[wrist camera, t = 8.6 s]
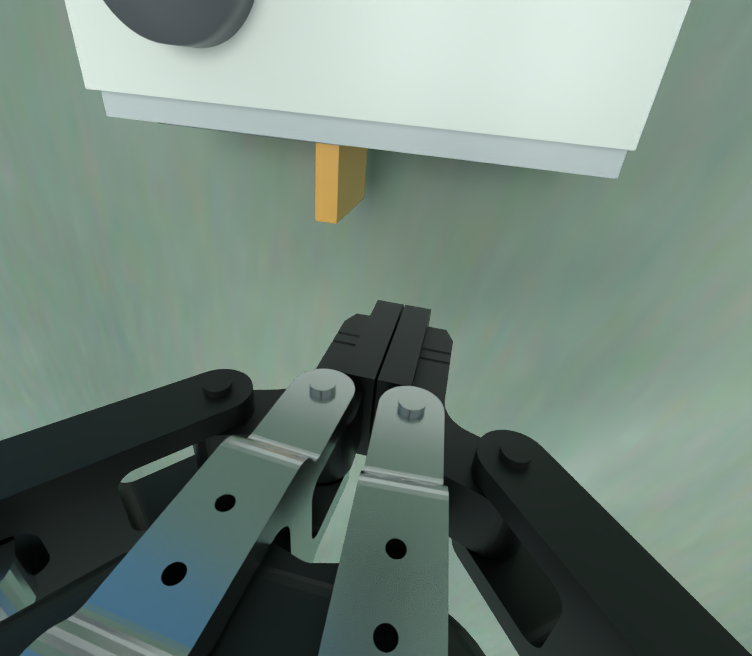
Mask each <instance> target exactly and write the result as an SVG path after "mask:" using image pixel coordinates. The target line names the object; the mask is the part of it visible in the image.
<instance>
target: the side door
mask: <svg viewBox="0 0 752 656" xmlns="http://www.w3.org/2000/svg"><path fill="white" fill-rule="evenodd" d="M157 123H159V122H157ZM161 124H167V123H161ZM169 125H176V124H169ZM177 126H184V125H177ZM185 127H192V126H185ZM193 128H200V127H193ZM202 129H208V128H202ZM210 130H216V129H210ZM218 131H224V130H218ZM226 132H232V131H226ZM234 133H241V132H234ZM242 134H249V133H242ZM250 135H257V134H250ZM258 136H265V135H258ZM266 137H273V136H266ZM274 138H281V137H274ZM283 139H289V138H283ZM291 140H297V139H291ZM299 141H306V140H299ZM307 142H314V141H307ZM315 143H316V195H315V221H322V222H328V223H335V224H337V223H338V222H339V221H340V220H341V219H342V218H343V217H344V216H345V215H346V214H347V213H349V212H350V211H351V210H352V209H353V208H354V207H355V206H356V205H357V204H358V203H359V202H360V201H361V200H363V199H364V190H365V175H366V160H367V148H362V147H354V146H346V145H338V144H330V143H322V142H315Z"/></svg>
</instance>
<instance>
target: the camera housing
mask: <svg viewBox="0 0 752 656" xmlns="http://www.w3.org/2000/svg"><path fill="white" fill-rule="evenodd" d="M690 2H691V0H65V4H66V8H67V12H68V16H69V20H70V25H71V29H72V33H73V37H74V41H75V45H76V50H77V54H78V58H79V62H80V66H81V71H82V75H83V79H84V83H85V87H86V89H93V90H101V92H102V96H103V101H104V105H105V110H106V114H107V116H111V117H119V118H127V119H135V120H143V121H151V122H159V123H167V124H176V125H184V126H192V127H200V128H208V129H216V130H224V131H232V132H241V133H249V134H257V135H265V136H273V137H281V138H289V139H297V140H306V141H314V142H322V143H330V144H338V145H346V146H354V147H362V148H370V149H379V150H387V151H395V152H403V153H411V154H419V155H427V156H435V157H444V158H452V159H460V160H468V161H476V162H484V163H492V164H500V165H509V166H517V167H525V168H533V169H541V170H549V171H557V172H565V173H574V174H582V175H590V176H598V177H606V178H614V179H617V178H618V175H619V172H620V170H621V167H622V164H623V161H624V158H625V156H626V153H627V150H634V151H635V150H636V147H637V144H638V142H639V139H640V136H641V133H642V131H643V128H644V125H645V123H646V120H647V117H648V115H649V112H650V109H651V107H652V104H653V101H654V98H655V96H656V93H657V90H658V88H659V85H660V82H661V80H662V77H663V74H664V72H665V69H666V66H667V63H668V61H669V58H670V55H671V53H672V50H673V47H674V45H675V42H676V39H677V37H678V34H679V31H680V28H681V26H682V23H683V20H684V18H685V15H686V12H687V10H688V7H689V4H690Z"/></svg>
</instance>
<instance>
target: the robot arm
mask: <svg viewBox="0 0 752 656" xmlns="http://www.w3.org/2000/svg"><path fill="white" fill-rule="evenodd" d="M430 314H431V309H426V308H420V307H415V306H409V305H405V307H404V305H403V304H397V303H392V302H386V301H380V300H378V301H377V303H376V305H375V307H374V309H373V311H372V313H371V315H370V316H367V315H362V314H355V315H354V316H352V317H351V318H349V319H347V320H346V321H344V323H343V325H342V326H341V328H340V330H339V331H338V333H337V335H336V336H335V338H334V340H333V342H332V343H331V345H330V346H329V348H328V350H327V351H326V353H325V355H324V356H323V358H322V360H321V361H320V363H319V365H318V366H317V368H316V369H314V370H309V371H307V372H304V373H302V374H300V375H299V376H297V377H296V378H295V379H294V380H293V382H292V383H291V384H290V385H289V387H288V388H287V389H279V390H253V384H252V381H251V379H250V378H249V377H248V376H247V375H246V374H244V373H242V372H240V371H236V370H231V369H218V370H212V371H208V372H205V373H202V374H199V375H196V376H193V377H190V378H187V379H184V380H181V381H178V382H175V383H172V384H169V385H166V386H163V387H160V388H157V389H154V390H151V391H148V392H145V393H142V394H139V395H136V396H133V397H130V398H127V399H124V400H121V401H118V402H115V403H112V404H109V405H106V406H103V407H100V408H97V409H94V410H91V411H88V412H85V413H82V414H79V415H76V416H73V417H70V418H67V419H64V420H61V421H58V422H55V423H52V424H49V425H46V426H43V427H40V428H37V429H34V430H31V431H28V432H25V433H22V434H19V435H16V436H13V437H10V438H7V439H4V440H1V441H0V656H486V655H485V654H484V653H483V651H482V650H481V648H480V647H479V645H478V644H477V643H476V641H475V640H474V639H473V638H472V637H471V635H470V634H469V633H468V632H467V631H466V629H464V628H463V627H462V626H461V625H460V624H459V623H458V622H457V621H456V620H455V619H454V618H453V617H452V616H451V615H449V614H448V559H449V537H450V538H452V545H453V548H454V551H455V553H456V555H457V556H458V558H459V559H460V561H461V563H462V564H463V566H464V568H465V569H466V571H467V572H468V574H469V576H470V577H471V579H472V580H473V582H474V584H475V585H476V587H477V588H478V590H479V592H480V593H481V595H482V596H483V598H484V600H485V601H486V603H487V604H488V606H489V608H490V609H491V611H492V612H493V614H494V616H495V617H496V619H497V620H498V622H499V624H500V625H501V627H502V628H503V630H504V632H505V633H506V635H507V636H508V638H509V640H510V641H511V643H512V644H513V646H514V648H515V649H516V651H517V652H518V654H519V656H752V655H751V654H750V653H749V652H748V651H747V650H746V649H745V648H744V647H743V646H742V645H741V644H740V643H739V642H738V641H737V640H736V639H735V638H734V637H733V636H732V635H731V634H730V633H729V632H728V631H727V630H726V629H725V628H724V627H723V626H722V625H721V624H720V623H719V622H718V621H717V620H716V619H715V618H714V617H713V616H712V615H711V614H710V613H709V612H708V611H707V610H706V609H705V608H704V607H703V606H702V605H701V604H700V603H699V602H698V601H697V600H696V599H695V598H694V597H693V596H692V595H691V594H690V593H689V592H688V591H687V590H686V589H685V588H684V587H683V586H682V585H681V584H680V583H679V582H678V581H677V580H676V579H675V578H673V577H672V576H671V575H670V574H669V573H668V572H667V571H666V570H665V569H664V568H663V567H662V566H661V565H660V564H659V563H658V562H657V561H656V560H655V559H654V558H653V557H652V556H651V555H650V554H649V553H648V552H647V551H646V550H645V549H644V548H643V547H642V546H641V545H640V544H639V543H638V542H637V541H636V540H635V539H634V538H633V537H632V536H631V535H630V534H629V533H628V532H627V531H626V530H625V529H624V528H623V527H622V526H621V525H620V524H619V523H618V522H617V521H616V520H615V519H614V518H613V517H612V516H611V515H610V514H609V513H608V512H607V511H606V510H605V509H604V508H603V507H602V506H601V505H600V504H599V503H598V502H597V501H596V500H595V499H594V498H593V497H592V496H591V495H590V494H589V493H588V492H587V491H586V490H585V489H584V488H583V487H582V486H581V485H580V484H579V483H578V482H577V481H576V480H575V479H574V478H573V477H572V476H571V475H570V474H569V473H568V472H567V471H566V470H565V469H564V468H563V467H562V466H561V465H560V464H559V463H558V462H557V461H556V460H555V459H554V458H553V457H552V456H551V455H550V454H549V453H548V452H547V451H546V450H545V449H544V448H543V447H542V446H541V445H539V444H538V443H537V442H536V441H534V440H533V439H531V438H529V437H528V436H526V435H523V434H521V433H518V432H515V431H510V430H495V431H491V432H488V433H486V434H485V435H483V436H482V437H478V436H476V435H474V434H472V433H470V432H468V431H466V430H465V429H463V428H461V427H460V426H458V425H457V424H456V423H455V422H454V421H453V420H452V419H451V418H450V416H449V415H448V413H447V411H446V409H445V394H446V387H447V380H448V373H449V364H450V358H451V351H452V343H453V341H452V339H451V337H450V336H449V334H448V332H447V330H443V329H438V328H433V327H428V326H429V320H430ZM191 445H193V448H194V453H195V455H193V456H191V457H189V458H186V459H184V460H182V461H179V462H177V463H175V464H173V465H170V466H168V467H166V468H163V469H161V470H159V471H157V472H154V473H152V474H150V475H147V476H145V477H143V478H141V479H138V480H136V481H133V482H129V483H121V482H120V481H121V480H122V479H123V478H124V477H125V476H126V475H127V474H128V473H130V472H131V471H133V470H135V469H137V468H139V467H142V466H144V465H146V464H149V463H151V462H154V461H156V460H158V459H161V458H163V457H165V456H168V455H170V454H172V453H175V452H177V451H179V450H182V449H184V448H187V447H189V446H191ZM356 453H357V454H362V455H366V456H367V457H366V462H365V466H364V470H363V471H361V472H360V476H359V479H358V483H357V488H356V492H355V496H354V501H353V505H352V509H351V514H350V518H349V523H348V527H347V531H346V536H345V540H344V544H343V549H342V553H341V557H340V562H339V563H313V561H314V557H315V554H316V551H317V549H318V546H319V544H320V542H321V539H322V537H323V535H324V533H325V531H326V528H327V526H328V524H329V522H330V519H331V517H332V515H333V513H334V511H335V508H336V506H337V504H338V502H339V500H340V497H341V495H342V493H343V491H344V488H345V486H346V484H347V482H348V479H349V470H350V468H351V466H352V463H353V461H354V458H355V455H356Z"/></svg>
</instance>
